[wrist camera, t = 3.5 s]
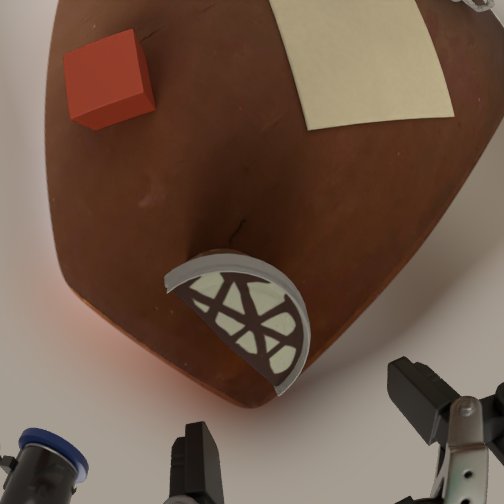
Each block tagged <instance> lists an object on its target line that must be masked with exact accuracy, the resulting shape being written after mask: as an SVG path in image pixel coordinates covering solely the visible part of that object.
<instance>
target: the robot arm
mask: <svg viewBox="0 0 504 504" xmlns="http://www.w3.org/2000/svg"><path fill="white" fill-rule="evenodd" d="M387 390H388V394H389V397H390V399H391V400H392V401H393V403H394V404H395V405H396V406H397V408H399V410H400V411H401V412H402V414H403V415H404V416H405V417H406V418H407V420H408V421H409V422H410V423H411V424H412V426H413V427H414V428H415V429H416V431H417V432H418V433H419V434H420V436H421V437H422V438H423V439H424V441H425V442H426V443H427V444H428V445H431V444H432V443H434V442H436V441H437V442H438V443H439V444H440V446H439V451H438V459H437V466H436V473H435V479H434V484H433V488H432V491H431V495H430V498H422V499H417V500H413V499H412V498H411V496H408V497H407V498H405V499H403V500H401V501H399V502H397V503H395V504H486V501H487V488H488V462H489V461H488V459H489V453H488V448H489V449H490V450H491V451H492V452H493V454H494V455H495V456H496V457H497V458H498V460H499V461H500V462H501V463H502V465H503V466H504V382H503V383H501V384H500V385H499V386H498V388H497V390H496V393H495V394H494V395H491V396H489V397H485V398H483V399H479V400H478V399H476V398H475V397H472V396H463V397H462V396H460V395H459V394H458V393H457V392H456V391H455V390H454V389H453V388H451V387H450V386H449V385H448V384H447V383H446V382H445V381H444V380H443V379H440V377H439V376H438V375H437V374H436V373H434V371H433V370H432V369H430V368H429V367H428V366H427V365H424V364H422V363H419V362H416V363H414V364H413V363H412V362H411V361H410V360H409V359H408V358H406V357H404V356H403V357H401V358H399V359H396V360H394V361H392V362H390V363H389V364H388V379H387ZM484 443H485V444H484ZM171 453H172V454H171V458H172V459H171V470H170V494H169V499H167V500H166V501H165V502H164V503H163V504H224V497H223V488H222V479H221V469H220V460H219V452H218V449H217V446H216V443H215V441H214V439H213V437H212V435H211V433H210V431H209V430H208V427H207V425H206V424H205V422H204V421H201V422H196V423H190V424H186V428H185V437H179V438H177V439H176V441H175V442H174V444H173V446H172V452H171ZM0 466H1V468H2V469H3V470H4V471H5V472H6V473H7V474H8V476H7V479H6V481H5V483H4V485H3V489H4V490H5V491H4V493H3V496H2V498H1V500H0V504H70V500H71V496H72V495H73V494H74V493H75V492H76V488H75V489H74V486H75V483H76V480H77V478H78V475H79V471H78V469H77V467H76V465H75V464H74V463H73V462H72V461H71V460H70V459H69V458H68V457H67V456H65V455H64V454H63V453H61V452H60V451H58V450H57V449H55V448H53V447H51V446H49V445H47V444H44V443H41V442H36V441H30V442H28V443H26V445H25V447H22V448H21V450H20V452H19V454H18V456H17V458H16V459H15V458H14V457H11V456H3V458H1V456H0Z"/></svg>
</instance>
